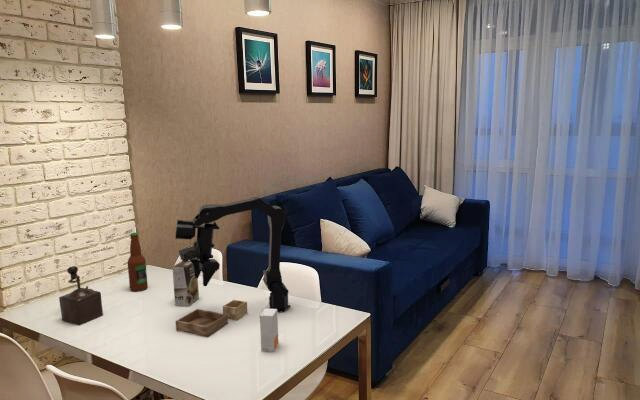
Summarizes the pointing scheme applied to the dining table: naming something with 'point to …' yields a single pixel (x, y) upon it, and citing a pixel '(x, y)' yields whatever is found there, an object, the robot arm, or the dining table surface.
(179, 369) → the dining table surface
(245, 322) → the dining table surface
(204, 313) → the big crate
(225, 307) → the small crate
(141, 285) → the bottle
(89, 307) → the manual coffee grinder
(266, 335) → the skincare box
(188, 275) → the coffee box
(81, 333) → the dining table surface
